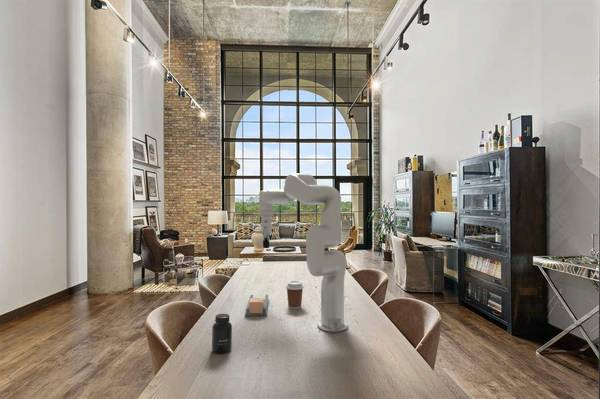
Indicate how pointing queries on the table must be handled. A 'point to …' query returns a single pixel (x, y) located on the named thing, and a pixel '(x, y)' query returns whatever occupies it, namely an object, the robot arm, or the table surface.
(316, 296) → the table surface
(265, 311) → the steel chute
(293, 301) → the coffee cup
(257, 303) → the block
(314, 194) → the robot arm
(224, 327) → the supplement bottle
